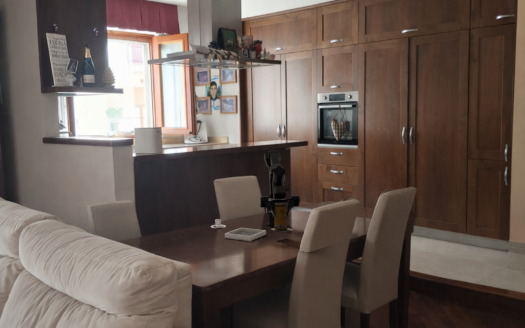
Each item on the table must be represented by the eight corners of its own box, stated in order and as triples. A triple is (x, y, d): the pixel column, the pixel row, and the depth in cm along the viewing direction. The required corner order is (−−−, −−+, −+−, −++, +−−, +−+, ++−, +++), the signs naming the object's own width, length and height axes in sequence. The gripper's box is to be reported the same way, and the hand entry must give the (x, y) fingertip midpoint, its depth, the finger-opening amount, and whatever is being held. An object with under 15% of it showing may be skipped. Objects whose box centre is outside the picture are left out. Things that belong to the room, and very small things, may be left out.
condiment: (281, 227, 245) (281, 202, 244) (293, 230, 238) (293, 204, 237) (270, 229, 240) (269, 204, 239) (282, 232, 234) (281, 206, 233)
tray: (241, 231, 256) (241, 227, 256) (266, 234, 249) (266, 230, 249) (224, 238, 244) (224, 233, 244) (250, 241, 236) (250, 236, 236)
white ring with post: (223, 229, 265) (222, 221, 264) (208, 229, 266) (208, 221, 266) (227, 225, 273) (227, 218, 273) (213, 225, 275) (213, 218, 274)
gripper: (259, 179, 240) (262, 207, 230) (299, 178, 242) (303, 205, 232) (259, 193, 249) (261, 220, 239) (297, 192, 250) (300, 219, 240)
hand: (281, 216), depth 237 cm, fingers closed on condiment, 6 cm apart
